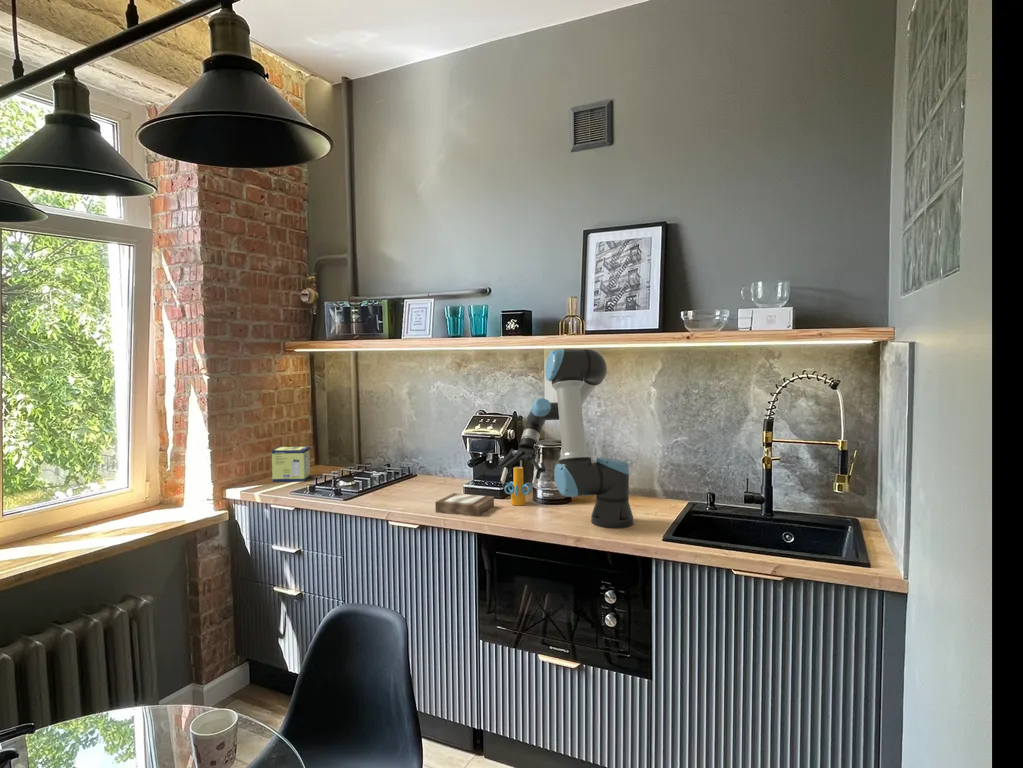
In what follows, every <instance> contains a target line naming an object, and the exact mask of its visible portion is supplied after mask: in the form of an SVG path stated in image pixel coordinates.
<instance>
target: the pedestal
mask: <svg viewBox="0 0 1023 768" xmlns="http://www.w3.org/2000/svg"><path fill="white" fill-rule="evenodd" d="M494 507H495V496H493V495H492V496H490V495H481V494H480V495H477V494H468V493H467V494H466V493H456V492H453V493H451V494H449V495H447V496H445V497H443V498H440V499H439V500H436V501H435V513H438V514H439V513H440V514H448V515H450V514H451V515H458V514H464V515H463V516H468V515H474V516H473V517H480V516H482V515H483V514H485V513H486V512H487V511H489V510H491V509H492V508H494ZM484 512H485V513H484ZM479 515H480V516H479Z"/></svg>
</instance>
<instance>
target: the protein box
mask: <svg viewBox="0 0 1023 768" xmlns="http://www.w3.org/2000/svg"><path fill="white" fill-rule="evenodd" d="M271 471H272V477H271V478H272V483H299V482H301V483H303V482H306V481H307V480H309V479H310V478H311V455H310V446H277V447H275V448H274V449H272V450H271Z"/></svg>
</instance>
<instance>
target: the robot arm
mask: <svg viewBox="0 0 1023 768" xmlns="http://www.w3.org/2000/svg"><path fill="white" fill-rule="evenodd" d="M607 367H608V366H607V362H606V360H605V358H604V357H603V356H602V355H601V353H599V352H598V351H595V350H594V349H590V348H585V349H582V348H581V349H580V348H576V349H575V348H561V349H552V350H551V351H550V352H549V354H548V355H547V358H546V362H545V368H544V372H545V373H544V374H545V379H546V380H547V381H549V382H551V387H552V388H553V389H554V390H555V391H556V398H557V399H556V400H557V402H551V401H549V400H548V399H546V398H543V397H540V398H537V399H536V400H535V401H534V402H533V403H532V406H531V409H530V411H529V412H528V415H527V417H526V421H525V425H524V429H523V432H522V435H521V438H520V442H519V444H518V445H519V446H518V449H517V450H515V449H514V448H511V449H510V450H509V452H508V454H507V455H506V456H505V457H503V459H502V460H501V461H500V462H499V463H498V467H499V469H500V470H501V471H500V476H501V477H500V483H501V484H502V485H505V481H506V478H507V474H508V470H509V468H511V467H512V466H514V465H516V464H517V463H519V462H529V461H530V462H531V463H532V465H533V467H535V470H534V474H533V477H532V482H531V484H532V488H533V487H534V488H536V485H537V481H538V480H539V479H540V478H541V474H542V473H546V472H547V469H546V465H545V463H540V465H539V464H538V462H537V461H536V460H535V457H536V456H537V455H536V452H537V451H536V452H535V450H534V449H533V446H534V444H535V443H536V442H538V443H539V440H540V438H541V433H542V430H543V427H544V424H545V423H546V421H558V420H559V421H558V422H559V429H560V430H559V433H560V441H561V451H562V455H560V457H559V459H558V464H556V465H555V466H554V473H553V475H554V482H555V485H556V488H557V490H558V492H559V493H560V495H561V496H563V497H567V498H568V497H569V498H571V497H572V498H576V497H587V496H590V497H591V496H596V497H595V503H594V506H593V509H592V513H591V516H590V517H591V518H590V520H591V523H592V524H594V525H596V526H598V527H601V528H602V527H603V528H611V529H617V528H621V529H622V528H628V527H630V526H631V527H632V526H633V525H634V515H633V512H632V507H631V505H630V501H629V497H630V495H629V493H630V467H629V464H628V463H627V461H624V460H621V459H617V458H611V457H597V458H596V460H595V462H593V461H592V456H591V455H589V454H588V453H587V448H586V445H587V444H586V437H585V428H584V426H585V425H584V418H583V417H584V416H583V405H584V404H585V402H586V401H587V399H588V397H590V395H591V394H592V392H593V390H594V388H596V387H597V386H598V385H600V384H602V382H603V381H604V380H605V377H606V376H607ZM545 471H546V472H545ZM632 524H633V525H632Z"/></svg>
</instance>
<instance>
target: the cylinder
mask: <svg viewBox="0 0 1023 768" xmlns="http://www.w3.org/2000/svg"><path fill="white" fill-rule="evenodd" d="M512 469H513V474H512V475H513V478H512V479H513V480H512V481H509V482H508V483H507V484H506V485H505V486H504V492H505V494H506V495H510V504H511V505H512V506H525V505H526V503H527V502H526V501H527V498H526V496H528V495H529V494H530V493H531V492H532V490H533V484H532V482H528V481H527V482H524V467H523V466H513V467H512ZM525 487H526V488H527V489H526V488H525ZM511 488H512V489H511ZM507 490H508V491H509V492H508V491H507Z"/></svg>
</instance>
